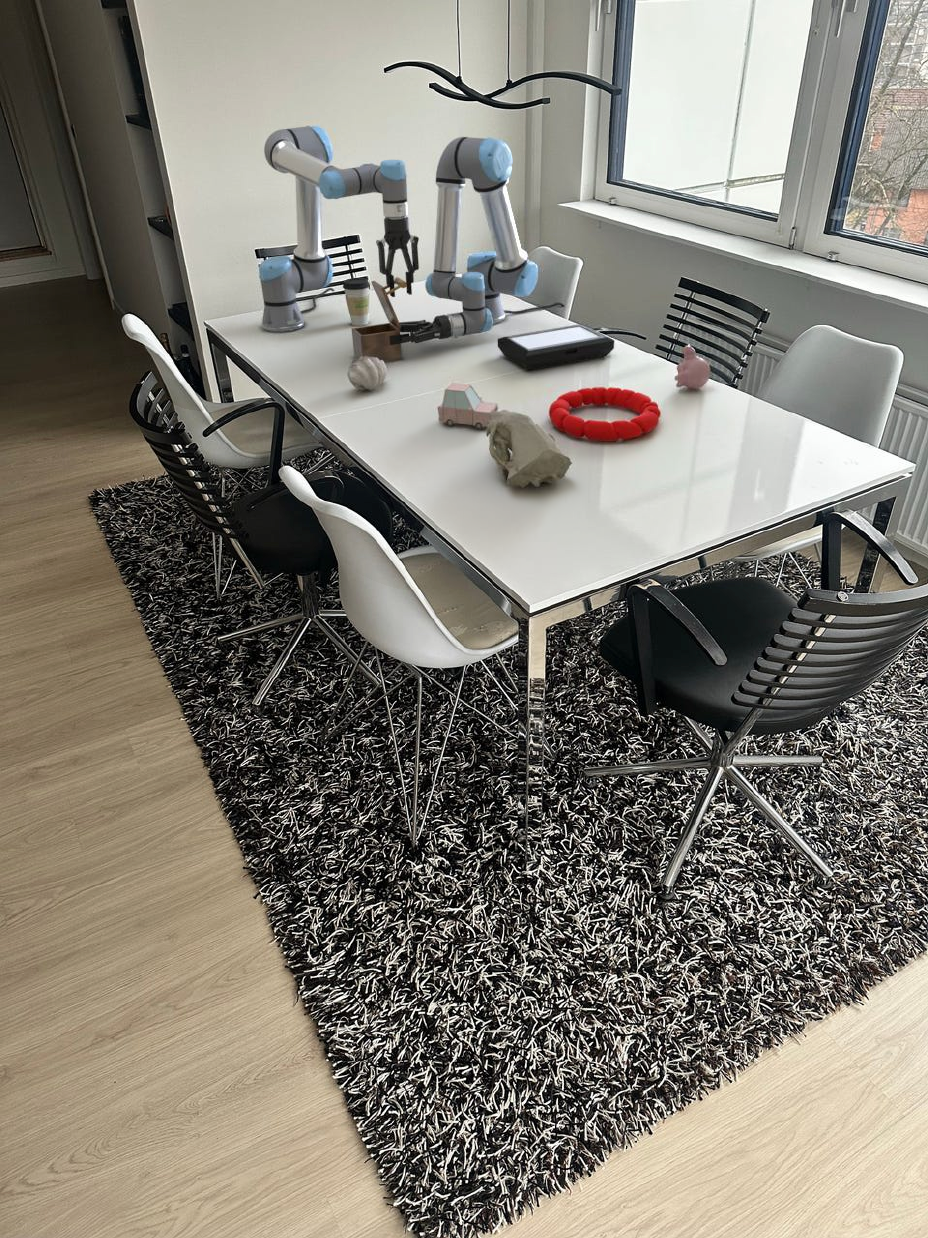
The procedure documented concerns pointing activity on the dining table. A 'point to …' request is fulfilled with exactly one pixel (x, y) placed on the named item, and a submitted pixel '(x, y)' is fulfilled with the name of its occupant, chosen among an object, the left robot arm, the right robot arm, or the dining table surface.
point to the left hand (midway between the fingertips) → (400, 294)
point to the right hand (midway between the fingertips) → (384, 336)
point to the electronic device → (555, 346)
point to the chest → (376, 342)
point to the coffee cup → (357, 300)
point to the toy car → (465, 406)
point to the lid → (385, 300)
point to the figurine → (692, 370)
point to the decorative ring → (604, 428)
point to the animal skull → (525, 450)
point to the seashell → (367, 372)
